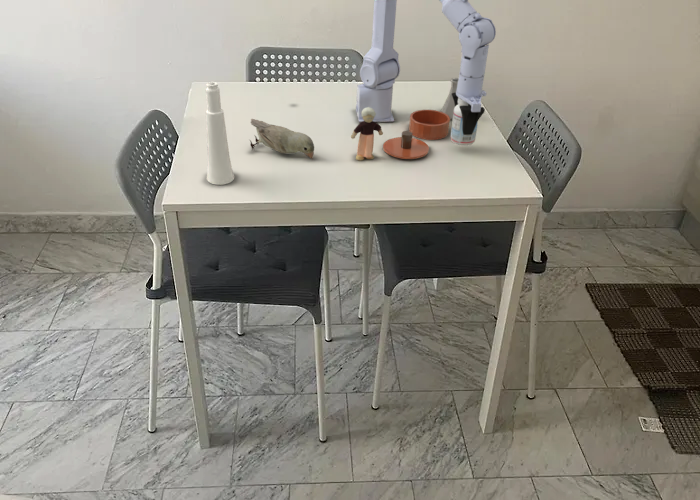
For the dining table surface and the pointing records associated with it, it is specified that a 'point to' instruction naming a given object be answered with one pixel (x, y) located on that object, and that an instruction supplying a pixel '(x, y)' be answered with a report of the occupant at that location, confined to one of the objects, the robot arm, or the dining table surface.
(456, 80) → the flask
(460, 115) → the pill bottle
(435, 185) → the dining table surface
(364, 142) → the grandmother figurine
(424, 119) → the bowl
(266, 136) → the decorative bird
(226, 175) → the cosmetic bottle
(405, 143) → the lid
